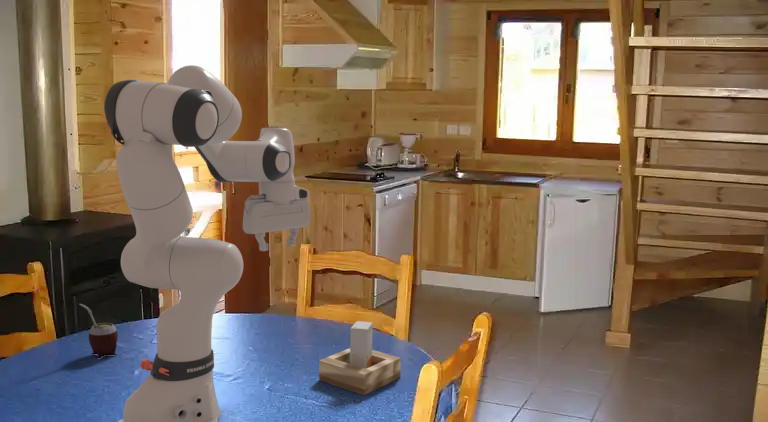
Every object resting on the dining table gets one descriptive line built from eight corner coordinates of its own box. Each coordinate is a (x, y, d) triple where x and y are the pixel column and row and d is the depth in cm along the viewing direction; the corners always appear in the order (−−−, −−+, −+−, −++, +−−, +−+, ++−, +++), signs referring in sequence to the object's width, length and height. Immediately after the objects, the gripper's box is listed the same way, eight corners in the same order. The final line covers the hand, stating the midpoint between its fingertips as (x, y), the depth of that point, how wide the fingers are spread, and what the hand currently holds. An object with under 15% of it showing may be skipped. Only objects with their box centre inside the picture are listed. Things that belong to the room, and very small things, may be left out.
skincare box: (366, 377, 181) (367, 329, 179) (349, 376, 182) (349, 328, 180) (372, 368, 187) (373, 322, 185) (355, 367, 188) (356, 320, 186)
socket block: (364, 395, 175) (364, 374, 174) (319, 380, 183) (319, 360, 182) (400, 377, 185) (400, 358, 185) (356, 364, 194) (356, 345, 193)
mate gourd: (122, 351, 200) (120, 296, 198) (109, 362, 193) (106, 304, 190) (95, 349, 201) (93, 295, 199) (81, 360, 193) (78, 303, 191)
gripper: (254, 196, 177) (255, 254, 179) (314, 191, 193) (314, 244, 195) (236, 195, 181) (237, 252, 183) (296, 189, 197) (296, 242, 199)
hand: (277, 248), depth 189 cm, fingers open, 8 cm apart
